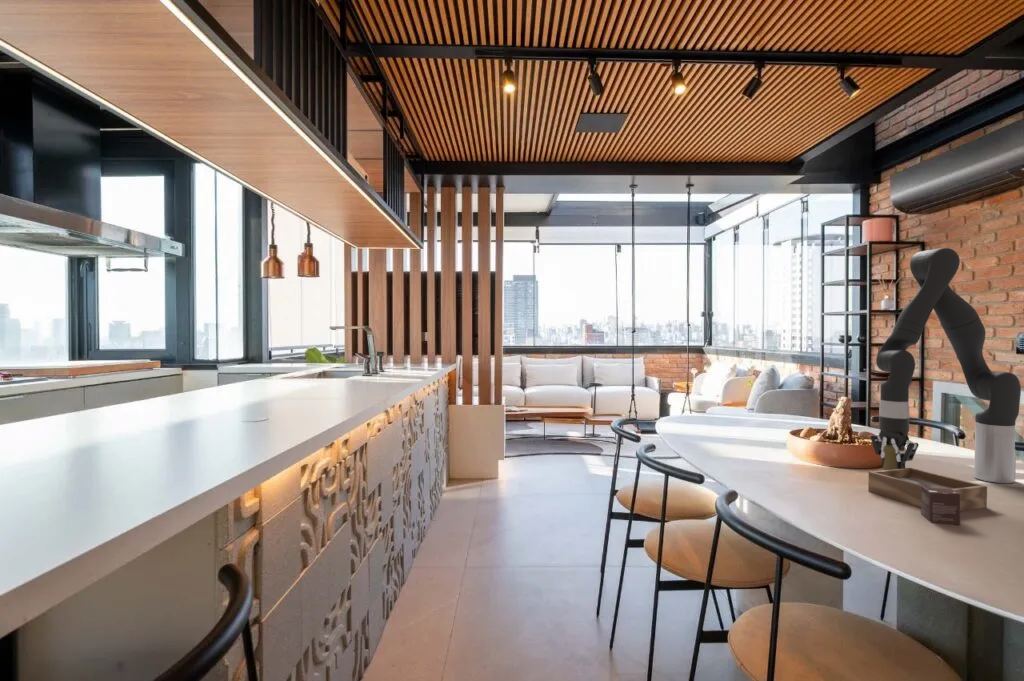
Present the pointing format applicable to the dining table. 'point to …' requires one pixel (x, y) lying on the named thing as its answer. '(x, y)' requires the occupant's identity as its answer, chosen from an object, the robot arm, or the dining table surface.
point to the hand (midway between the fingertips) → (893, 471)
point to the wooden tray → (910, 482)
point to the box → (940, 504)
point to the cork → (890, 457)
